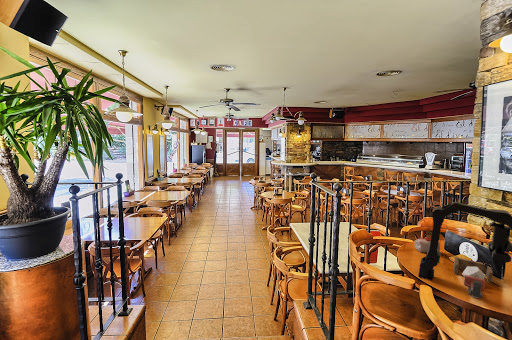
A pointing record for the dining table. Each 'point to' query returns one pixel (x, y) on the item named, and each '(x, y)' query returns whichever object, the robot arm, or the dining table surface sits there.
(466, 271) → the grey pyramid roof
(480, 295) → the rod bushings
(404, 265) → the dining table surface
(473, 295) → the red block
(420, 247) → the food item
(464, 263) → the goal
